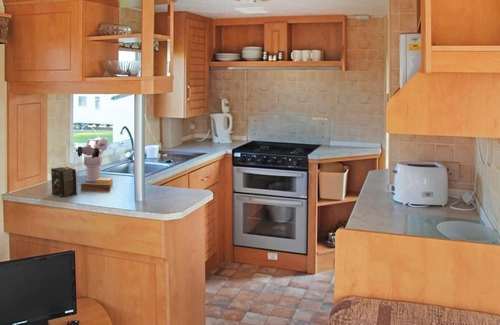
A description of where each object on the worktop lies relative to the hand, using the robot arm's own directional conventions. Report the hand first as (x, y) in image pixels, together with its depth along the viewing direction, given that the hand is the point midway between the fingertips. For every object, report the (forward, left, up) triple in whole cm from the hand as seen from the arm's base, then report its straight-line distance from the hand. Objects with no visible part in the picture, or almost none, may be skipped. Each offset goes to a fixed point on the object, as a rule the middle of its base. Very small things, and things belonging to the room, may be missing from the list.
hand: (86, 155), depth 293 cm
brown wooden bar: (+7, +7, -19) cm, 22 cm away
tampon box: (+17, -7, -19) cm, 27 cm away
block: (-3, +9, -19) cm, 22 cm away
